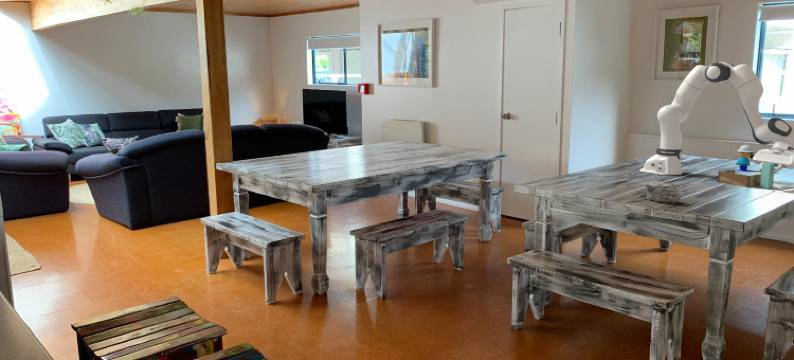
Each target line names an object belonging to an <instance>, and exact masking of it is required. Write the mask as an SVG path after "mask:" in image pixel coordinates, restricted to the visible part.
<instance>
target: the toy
mask: <svg viewBox="0 0 794 360" xmlns="http://www.w3.org/2000/svg"><path fill="white" fill-rule="evenodd" d="M736 151H737V152H738V156H739V158H738V159H737V161H736V164H735V165H737V166H739V171H740V172H747V171H748V166H751V163H750V159H751V160H752V161H753V157H754V156H755V150H753V149H752V147H751V146H750V145H748V144H744V145H741V146H740V147H739V149H737V150H736ZM749 158H750V159H749Z"/></svg>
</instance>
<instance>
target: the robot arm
mask: <svg viewBox="0 0 794 360" xmlns="http://www.w3.org/2000/svg"><path fill="white" fill-rule="evenodd" d="M729 82H730V83H732V84H733V86H734V87H735V89H736V91H737V93H738V95H739V97H740V100H741V106H742V108H743V109H742V110H743V112H744V114H745V117H746V119H747V121H748V124H749V126H750V128H751V131H752V133H751V134H752V137H753V139H754V140H755V142H756V143H758V144H760V145H762V146H763V145H764V146H766V145H769V144H771V143H773V141H775V142H774V144H773V145H772V147H771V148H761V149H759V150H758V151H757V152H756V153H755V154H754V156H753V160H752V161H753V163H754V164H755V165H760V167H759V171H760V172H761V171H762V163H774V164H775V169H773V170H772V172H773V173H774V174H777V173H778V172H780V171H781V170H783V169H788V170H794V121H792V122H790V121H785V120H783V119H782V118H780V117H771V118H770V119H768V120H766V121H765V122H764V120H763V117H762V115H761V113H760V111H759V102H760V100H761V98H762V96H763V94H764V87H763V83H762V82H761V79H759V77H758V75H757V74H756V73H755V71H754V70H753V69H752V67H750V66H749V65H748V64H746V63H742V64H741V63H740V64H737V65H736V66H735V65H734V64H733V63H731V62H725V61H715V62H712V63H710V64H708V65H707V66H706V65H703V64H698V65H696V66H694V67H693V68H692V69H691V71H690V72H689V73H688V74H687V76H686V77H685V78H684V79H683V81H682V83H681V84H680V85H679V87H678V88H677V90H676V92H675V96H674V99H673V100H672V103H671V104H667V105H664V106H662V107H661V108H660V109H659V110H658V112H657V115H656V116H657V120H658V121H659V128H660V129H659V130H660V142H659V143H660V144H659V145H660V146H659V147H658V148H657V149H655V154H654V155H652V156H651V157H649V158H648V159H646V161H645V163H644V166H643V167H642V168H640V169H639V172H641V173H647V174H648V173H649V174H655V175H661V176H670V175H671V176H676V175H677V176H678V175H682V174H683V171H682V162H681V161H682V160H681V159H682V155H683V149H682V144H683V143H682V142H683V134H682V131H681V123H683V122H684V121H686V120H687V119H688V117H689V114H690V112H691V111H692V108H693V106H694V103H695V102H696V100H697V99H698V98H699V96H700V94H701V93H702V92H703V90H704V89H705V88H706V86H707V85H708V83H713V84H723V83H729Z"/></svg>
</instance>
